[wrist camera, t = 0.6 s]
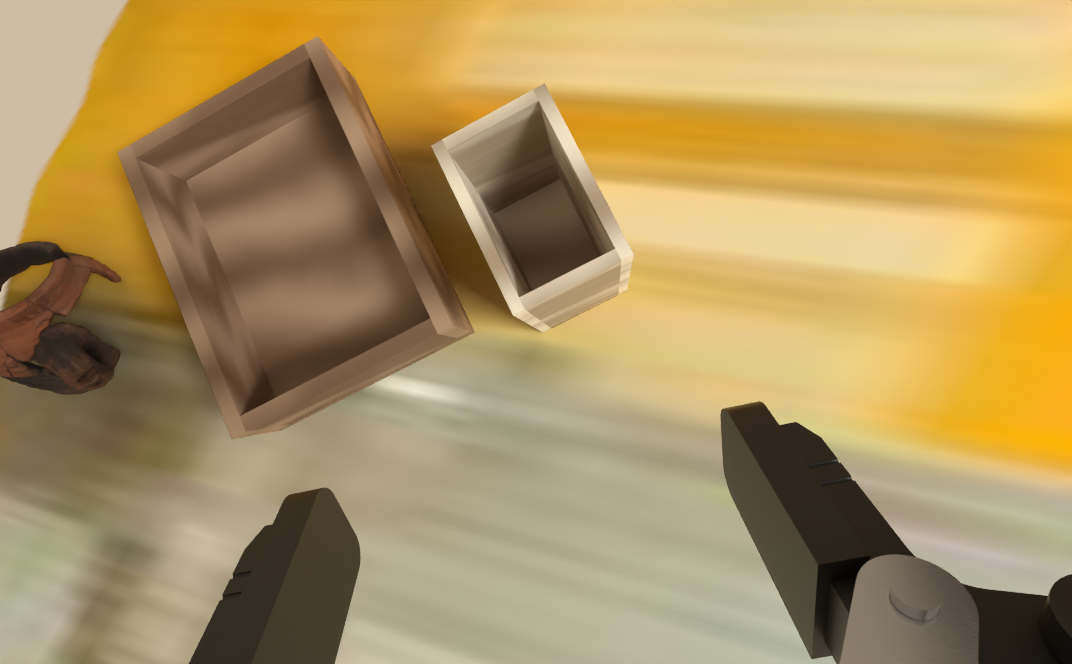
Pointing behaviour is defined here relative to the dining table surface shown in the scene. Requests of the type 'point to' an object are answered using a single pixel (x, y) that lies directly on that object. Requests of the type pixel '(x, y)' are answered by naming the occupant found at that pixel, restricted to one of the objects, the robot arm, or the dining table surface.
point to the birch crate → (536, 211)
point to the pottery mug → (63, 347)
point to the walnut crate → (291, 243)
